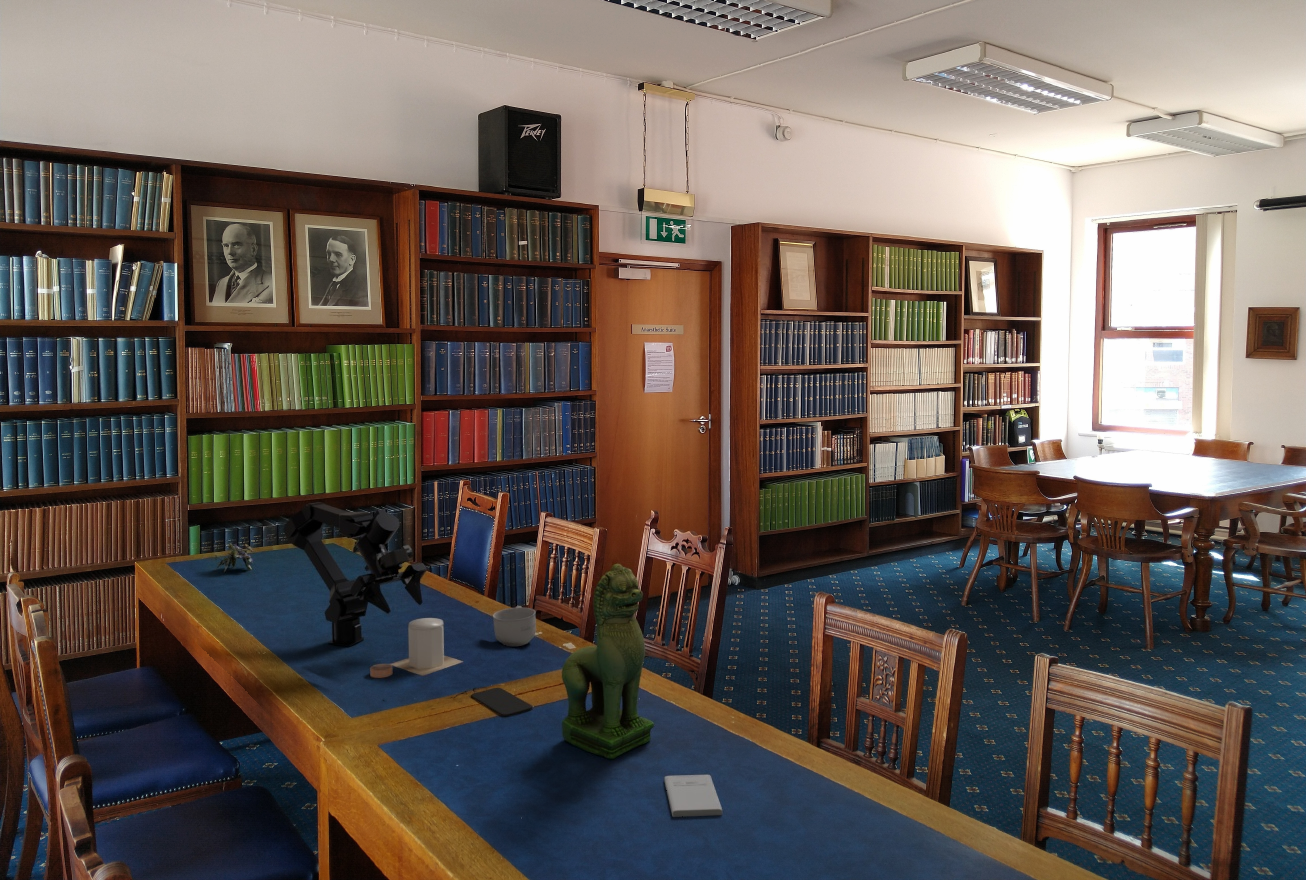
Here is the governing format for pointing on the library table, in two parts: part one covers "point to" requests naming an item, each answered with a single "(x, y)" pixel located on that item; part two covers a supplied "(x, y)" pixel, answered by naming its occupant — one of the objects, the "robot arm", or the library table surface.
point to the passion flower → (237, 556)
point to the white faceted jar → (426, 643)
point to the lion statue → (608, 673)
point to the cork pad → (446, 663)
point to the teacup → (514, 626)
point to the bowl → (381, 670)
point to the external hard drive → (692, 795)
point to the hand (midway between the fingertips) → (405, 608)
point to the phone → (502, 702)
